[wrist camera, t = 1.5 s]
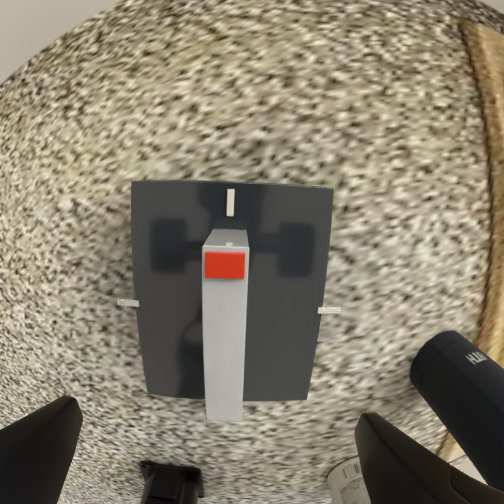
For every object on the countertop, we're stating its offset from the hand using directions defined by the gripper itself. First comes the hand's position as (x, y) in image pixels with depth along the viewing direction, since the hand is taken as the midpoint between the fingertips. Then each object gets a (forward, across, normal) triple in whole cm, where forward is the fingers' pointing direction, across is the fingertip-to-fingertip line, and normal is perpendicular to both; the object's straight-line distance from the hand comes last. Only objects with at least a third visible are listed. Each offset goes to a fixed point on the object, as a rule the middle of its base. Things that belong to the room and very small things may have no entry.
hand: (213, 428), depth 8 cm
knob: (+9, 0, 0) cm, 9 cm away
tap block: (+12, 0, 0) cm, 12 cm away
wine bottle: (+12, -19, +8) cm, 24 cm away
